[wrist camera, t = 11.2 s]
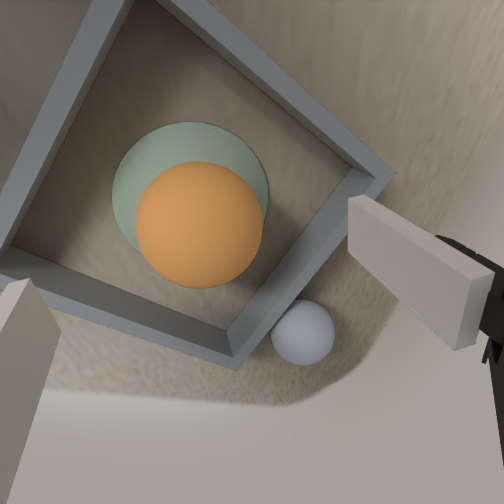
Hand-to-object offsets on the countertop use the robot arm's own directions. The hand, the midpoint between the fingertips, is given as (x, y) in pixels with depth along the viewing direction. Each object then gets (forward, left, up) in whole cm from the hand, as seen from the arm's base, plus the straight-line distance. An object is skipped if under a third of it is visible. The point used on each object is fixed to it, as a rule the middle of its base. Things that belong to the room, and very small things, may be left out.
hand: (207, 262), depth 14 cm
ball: (+1, 0, -9) cm, 9 cm away
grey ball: (+12, -4, -9) cm, 16 cm away
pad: (0, 0, -9) cm, 9 cm away
